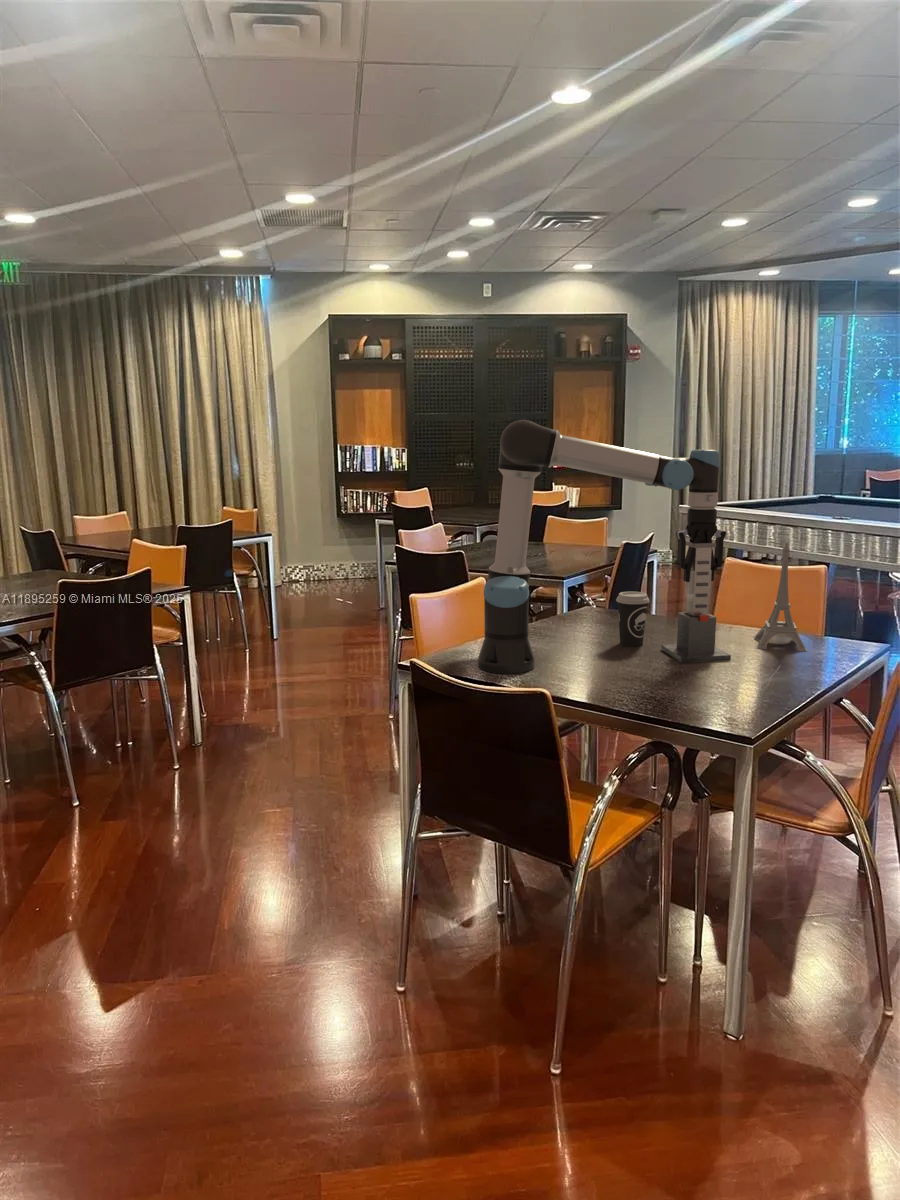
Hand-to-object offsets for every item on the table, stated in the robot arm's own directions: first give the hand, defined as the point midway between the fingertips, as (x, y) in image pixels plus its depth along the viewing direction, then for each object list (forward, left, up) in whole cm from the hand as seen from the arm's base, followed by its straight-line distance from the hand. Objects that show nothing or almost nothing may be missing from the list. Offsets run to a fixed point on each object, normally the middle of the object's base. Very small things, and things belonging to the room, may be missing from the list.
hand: (698, 592), depth 224 cm
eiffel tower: (+29, +7, -18) cm, 35 cm away
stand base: (0, 0, -18) cm, 18 cm away
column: (0, 0, -13) cm, 13 cm away
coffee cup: (-13, +15, -18) cm, 27 cm away
